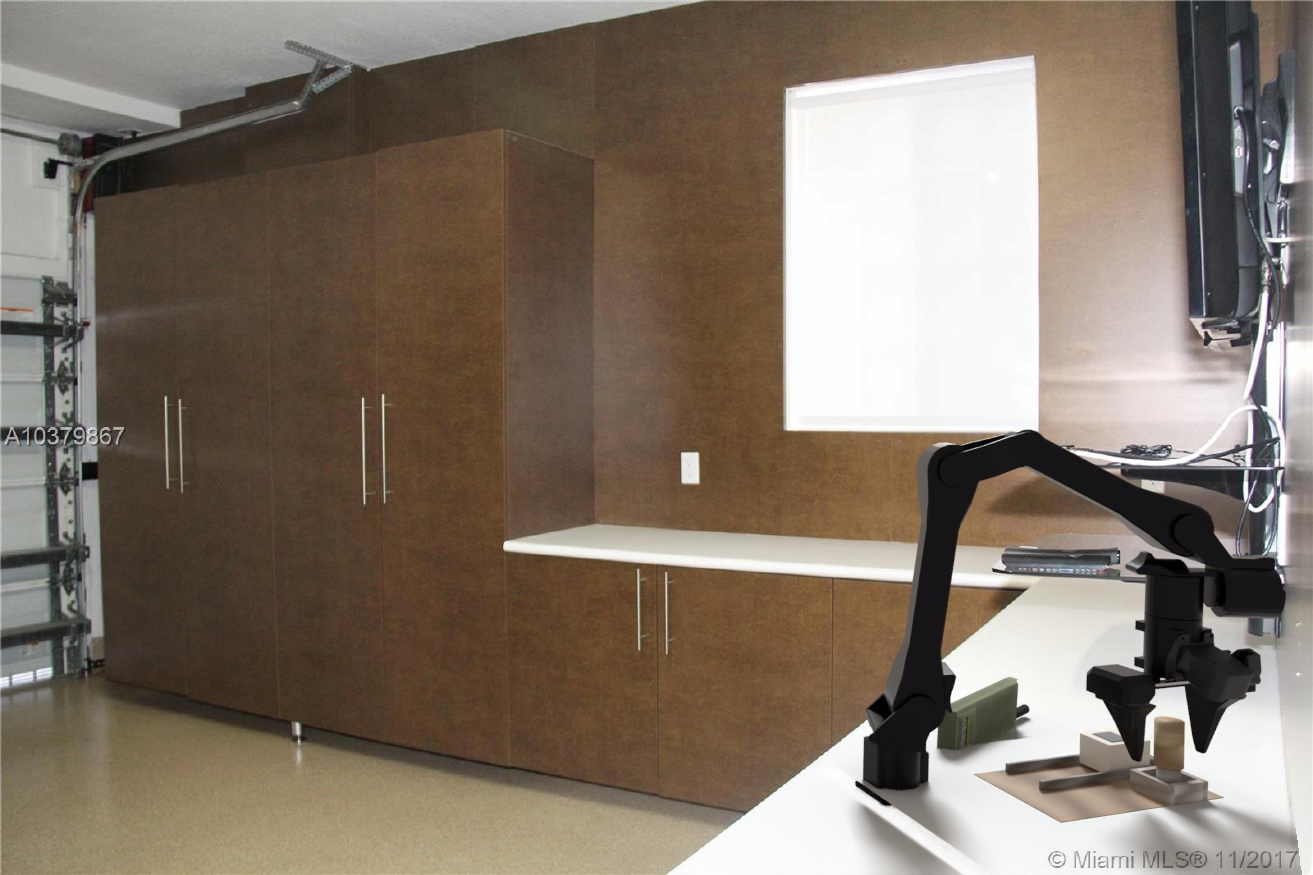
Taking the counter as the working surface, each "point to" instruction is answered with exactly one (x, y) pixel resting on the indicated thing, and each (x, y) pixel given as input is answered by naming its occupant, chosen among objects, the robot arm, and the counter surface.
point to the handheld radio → (981, 716)
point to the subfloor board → (1092, 788)
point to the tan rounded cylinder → (1169, 748)
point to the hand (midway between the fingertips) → (1168, 756)
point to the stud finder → (1109, 751)
